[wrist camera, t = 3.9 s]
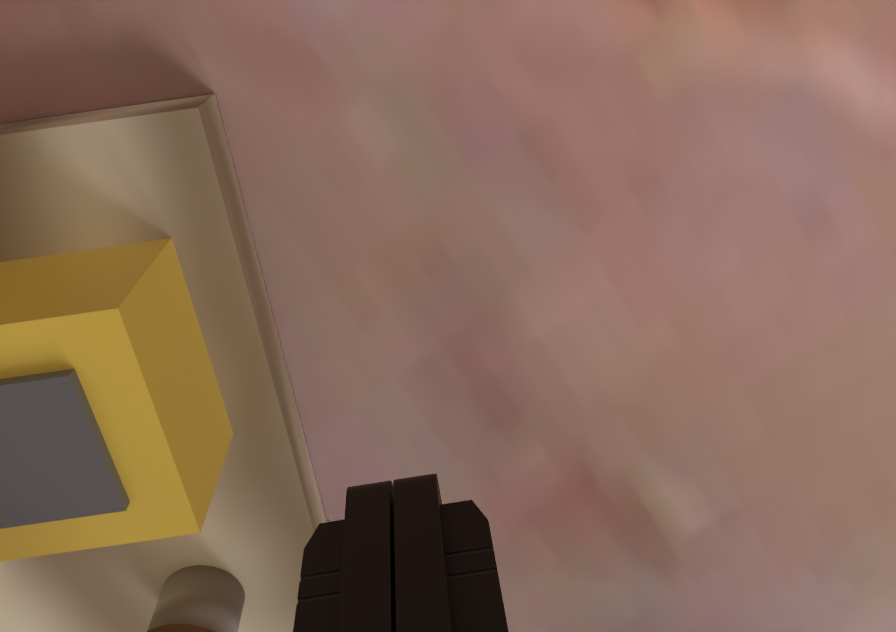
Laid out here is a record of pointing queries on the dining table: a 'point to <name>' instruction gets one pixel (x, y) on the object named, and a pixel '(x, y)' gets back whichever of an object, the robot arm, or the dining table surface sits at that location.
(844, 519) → the dining table surface
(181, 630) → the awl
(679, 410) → the dining table surface
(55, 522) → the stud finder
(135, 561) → the board
